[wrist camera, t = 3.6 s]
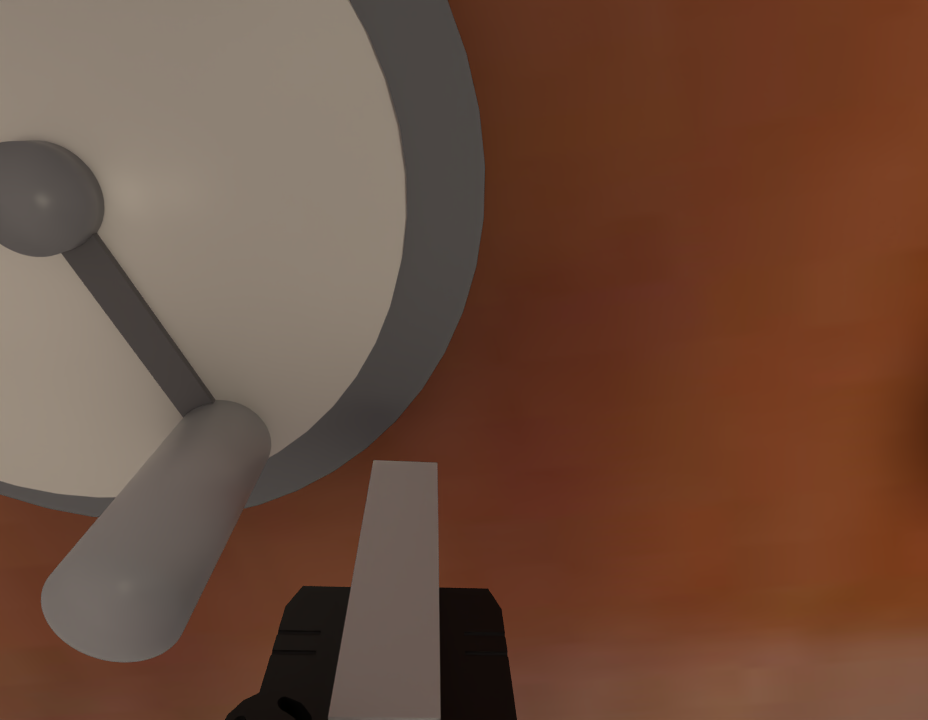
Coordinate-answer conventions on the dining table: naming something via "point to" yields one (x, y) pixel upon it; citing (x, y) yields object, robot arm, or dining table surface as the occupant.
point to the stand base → (424, 254)
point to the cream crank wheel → (181, 274)
